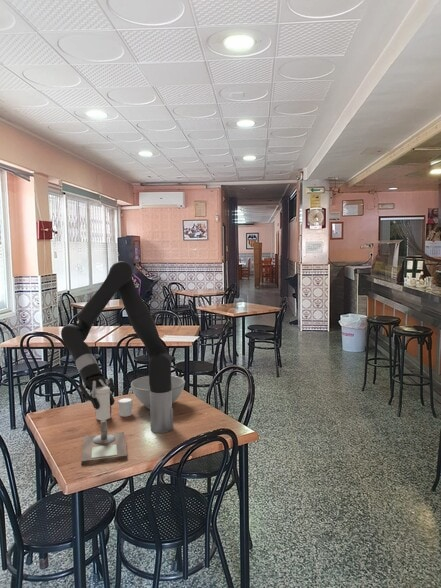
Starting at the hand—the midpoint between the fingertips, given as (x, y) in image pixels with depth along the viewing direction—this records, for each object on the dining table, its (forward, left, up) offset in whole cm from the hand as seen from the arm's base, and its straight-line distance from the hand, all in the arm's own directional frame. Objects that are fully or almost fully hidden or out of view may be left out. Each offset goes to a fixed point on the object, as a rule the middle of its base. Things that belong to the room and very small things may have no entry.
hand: (105, 406), depth 157 cm
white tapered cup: (-9, -43, -20) cm, 48 cm away
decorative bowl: (-26, -50, -20) cm, 60 cm away
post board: (+1, -7, -19) cm, 21 cm away
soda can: (+1, -41, -20) cm, 45 cm away
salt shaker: (+1, -2, -5) cm, 5 cm away
